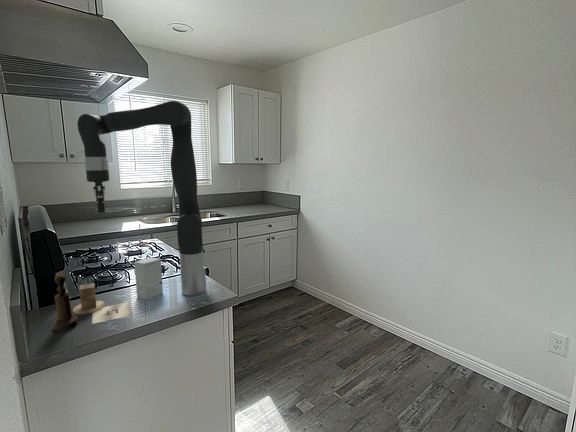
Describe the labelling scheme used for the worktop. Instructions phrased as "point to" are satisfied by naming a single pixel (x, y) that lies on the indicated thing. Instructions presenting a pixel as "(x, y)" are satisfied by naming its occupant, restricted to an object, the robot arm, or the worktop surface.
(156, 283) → the skincare box
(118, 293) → the worktop surface
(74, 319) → the brown tall tapered piece
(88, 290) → the walnut block
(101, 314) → the tile
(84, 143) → the robot arm
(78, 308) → the cork coaster
